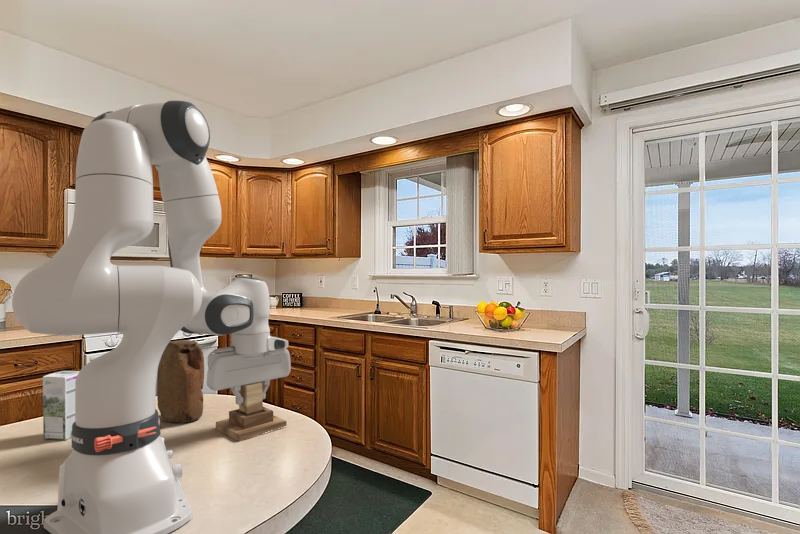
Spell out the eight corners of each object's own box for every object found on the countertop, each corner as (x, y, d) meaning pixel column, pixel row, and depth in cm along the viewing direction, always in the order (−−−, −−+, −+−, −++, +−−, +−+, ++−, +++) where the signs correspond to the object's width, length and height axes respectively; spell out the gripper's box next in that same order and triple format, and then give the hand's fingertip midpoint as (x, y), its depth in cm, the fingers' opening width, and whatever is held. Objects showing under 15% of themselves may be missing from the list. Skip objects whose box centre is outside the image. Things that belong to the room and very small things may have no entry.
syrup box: (86, 431, 104) (86, 370, 104) (64, 441, 98) (64, 376, 98) (64, 430, 105) (64, 369, 105) (41, 440, 99) (41, 375, 99)
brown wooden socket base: (286, 427, 106) (286, 410, 106) (239, 441, 98) (239, 423, 98) (261, 415, 115) (261, 400, 115) (215, 428, 106) (215, 411, 106)
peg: (263, 420, 106) (262, 382, 106) (247, 424, 103) (246, 386, 103) (254, 416, 109) (254, 380, 109) (239, 420, 106) (238, 383, 106)
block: (154, 420, 112) (154, 341, 112) (179, 411, 118) (179, 337, 118) (184, 426, 107) (184, 344, 107) (209, 417, 114) (209, 340, 114)
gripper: (213, 351, 97) (213, 414, 96) (294, 340, 111) (294, 395, 111) (201, 348, 101) (201, 408, 101) (280, 337, 116) (280, 390, 116)
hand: (250, 401), depth 106 cm, fingers closed on peg, 4 cm apart
